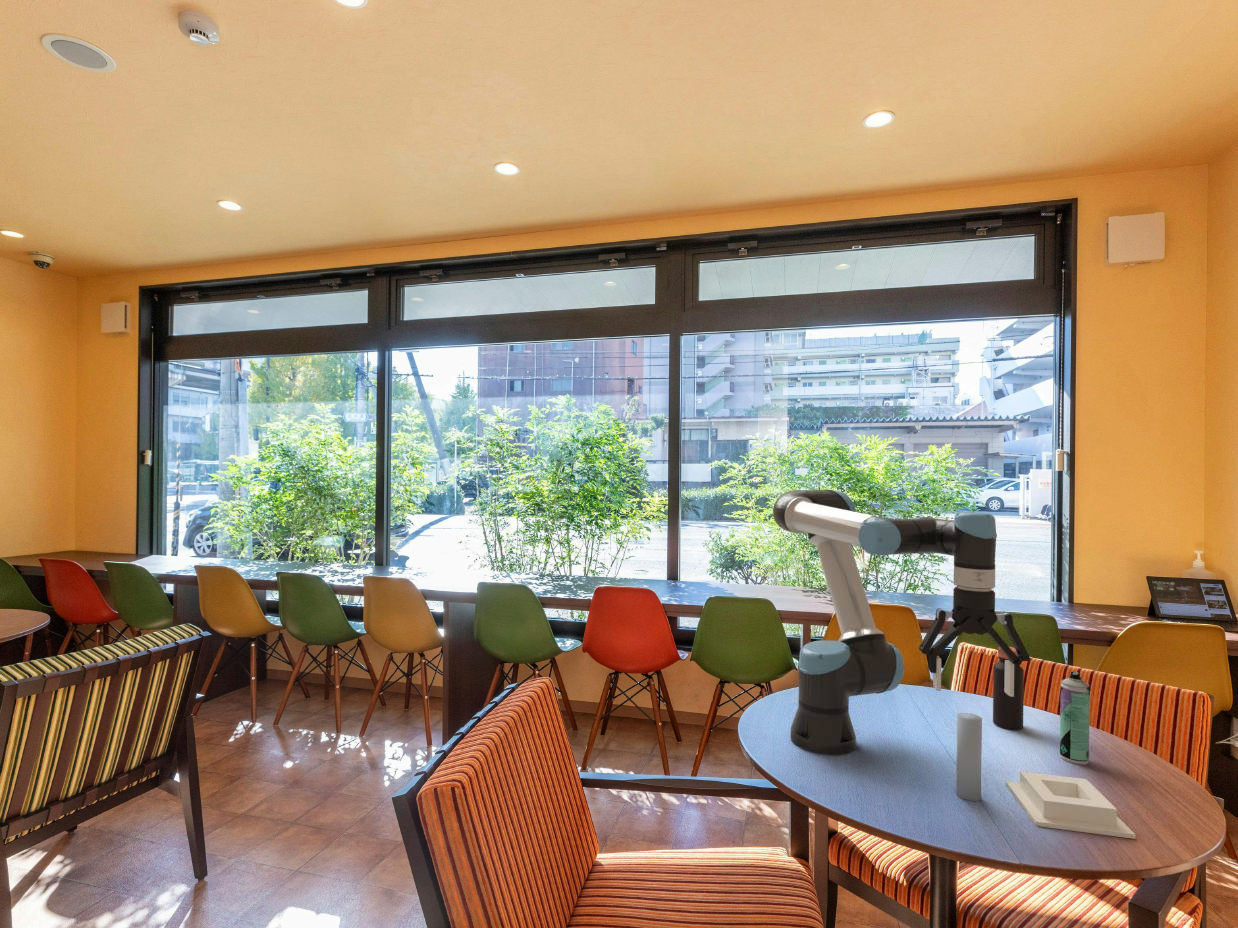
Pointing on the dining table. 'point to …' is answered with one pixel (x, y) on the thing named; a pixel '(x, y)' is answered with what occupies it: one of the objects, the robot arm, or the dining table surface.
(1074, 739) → the spray can
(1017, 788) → the socket
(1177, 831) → the dining table surface
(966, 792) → the peg
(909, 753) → the dining table surface
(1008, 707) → the bottle
